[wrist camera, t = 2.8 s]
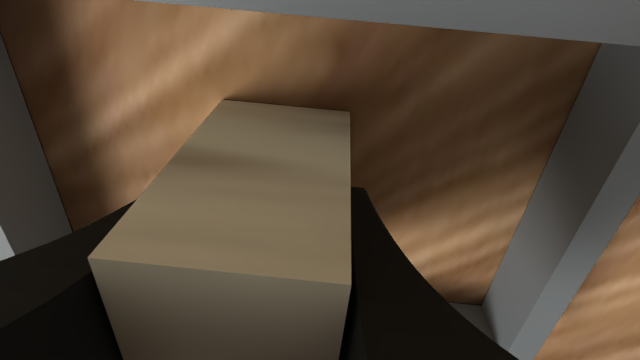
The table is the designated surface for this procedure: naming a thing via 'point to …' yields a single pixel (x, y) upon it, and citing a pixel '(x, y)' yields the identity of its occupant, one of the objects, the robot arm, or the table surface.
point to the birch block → (237, 242)
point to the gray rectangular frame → (547, 199)
